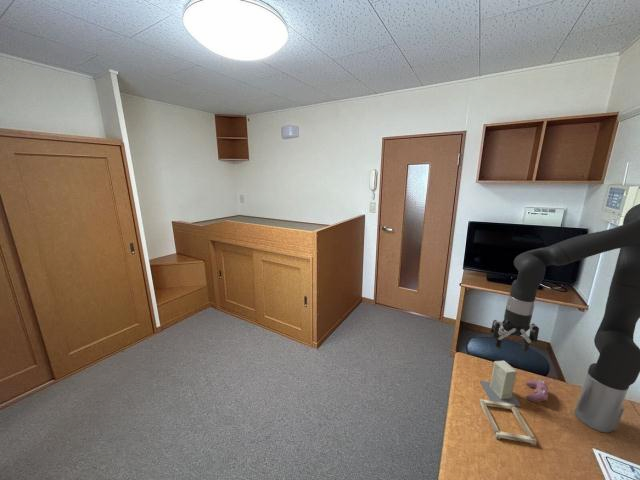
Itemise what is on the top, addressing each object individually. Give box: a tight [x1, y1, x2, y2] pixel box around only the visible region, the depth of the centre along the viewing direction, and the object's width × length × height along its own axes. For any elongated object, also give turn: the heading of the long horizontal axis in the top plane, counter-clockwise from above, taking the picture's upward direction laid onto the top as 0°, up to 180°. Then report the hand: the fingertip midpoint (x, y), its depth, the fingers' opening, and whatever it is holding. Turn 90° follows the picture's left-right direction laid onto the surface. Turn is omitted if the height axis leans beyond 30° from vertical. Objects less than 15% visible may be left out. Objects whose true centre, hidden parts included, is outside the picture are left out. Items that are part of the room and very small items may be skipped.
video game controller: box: [525, 379, 549, 402], centre depth 99 cm, size 10×5×7 cm, turn 143°
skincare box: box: [490, 360, 518, 399], centre depth 99 cm, size 6×4×12 cm
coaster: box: [479, 380, 522, 408], centre depth 100 cm, size 10×10×1 cm
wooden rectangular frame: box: [478, 398, 538, 446], centre depth 88 cm, size 11×13×2 cm
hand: (510, 348), depth 95 cm, fingers open, 8 cm apart
